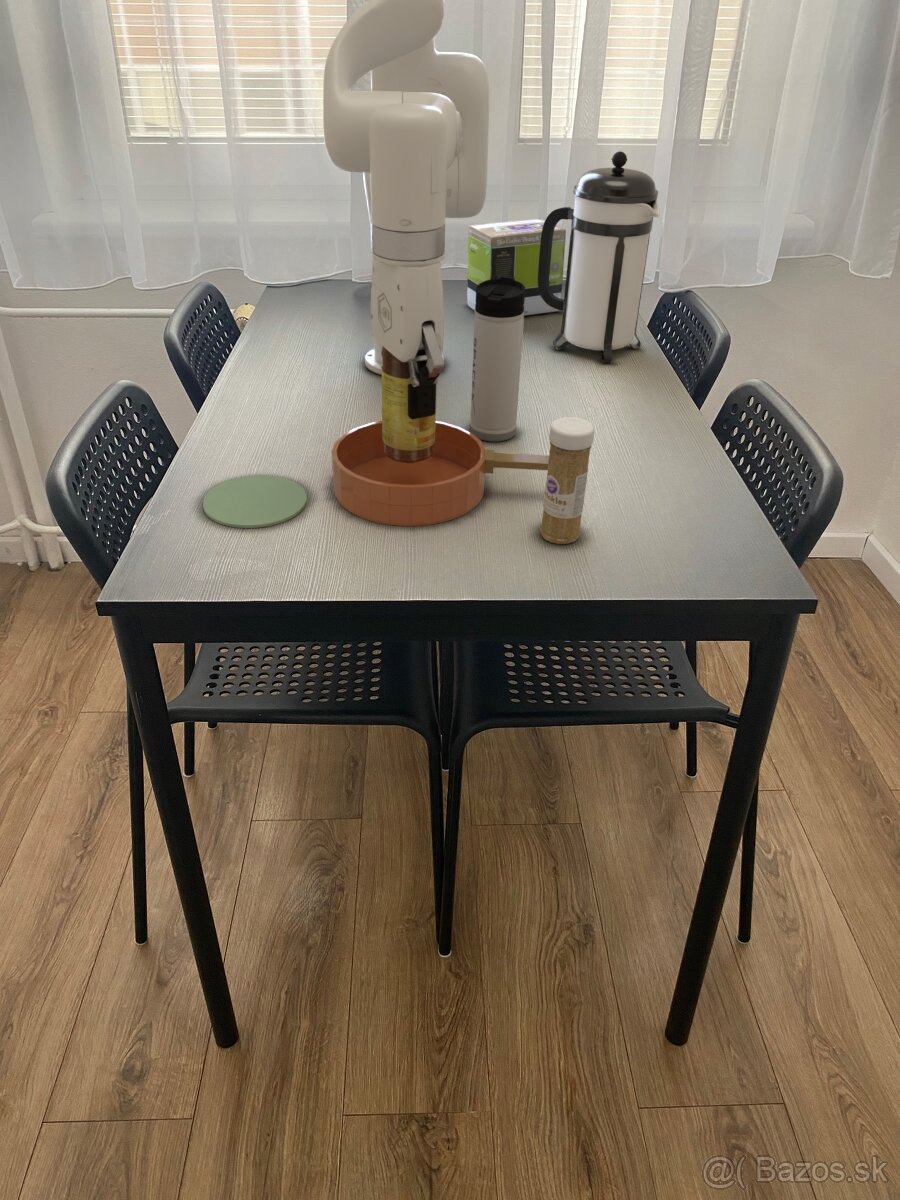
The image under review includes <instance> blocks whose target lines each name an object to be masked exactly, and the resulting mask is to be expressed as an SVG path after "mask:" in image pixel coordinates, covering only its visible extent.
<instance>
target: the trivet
mask: <svg viewBox="0 0 900 1200" xmlns="http://www.w3.org/2000/svg"><path fill="white" fill-rule="evenodd" d="M307 503H308V495H307V492H306V490H305V488H304V487H303V486H302V485H300V484H299V483H297V482H296V481H294V480H291V479H289V478H286V477H282V476H276V475H267V474H266V475H263V474H261V475H257V474H256V475H247V476H241V477H236V478H233V479H229V480H226V481H224V482H221V483H219V484H218V485H216V486H214V487H212V488H211V489H210V490H209V491H208V492H207V493H206V494H205V495H204V498H203V500H202V509H203V512H204V514H205V515H206V516H207V517H208V518H209V519H210V520H212V521H213V522H215V523H217V524H219V525H221V526H226V527H231V528H236V529H238V528H239V529H259V528H265V527H266V528H267V527H272V526H276V525H278V524H282V523H285V522H287V521H289V520H291V519H293V518H295V517H296V516H299V514H301V512H302V511H303V510H305V507H306V506H307Z"/></svg>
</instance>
